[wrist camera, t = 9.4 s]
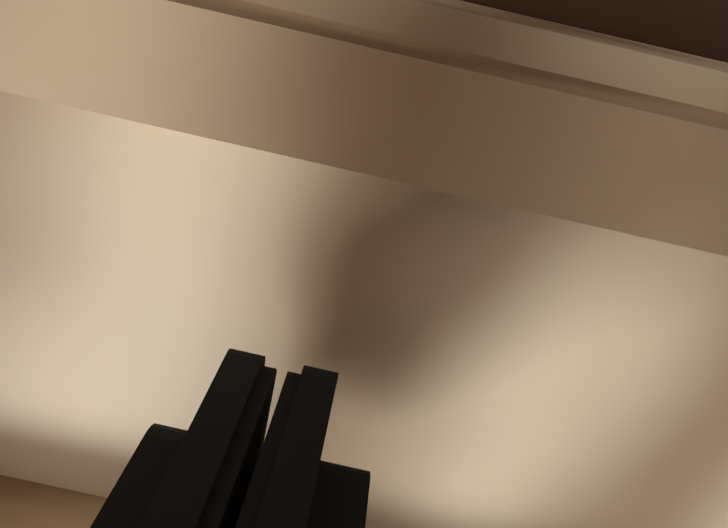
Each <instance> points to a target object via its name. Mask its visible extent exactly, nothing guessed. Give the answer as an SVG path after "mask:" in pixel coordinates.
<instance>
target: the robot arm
mask: <svg viewBox="0 0 728 528" xmlns="http://www.w3.org/2000/svg"><path fill="white" fill-rule="evenodd" d="M265 359H266V358H265V356H262V355H258V354H253V353H249V352H245V351H240V350H236V349H231V348H230V349H229V350H228V351H227V353H226V355H225V357H224V359H223V361H222V363H221V365H220V367H219V369H218V371H217V373H216V375H215V377H214V379H213V381H212V383H211V385H210V387H209V389H208V391H207V393H206V395H205V397H204V399H203V401H202V403H201V405H200V407H199V409H198V411H197V413H196V415H195V417H194V419H193V421H192V423H191V425H190V427H189V429H188V430H183V429H179V428H174V427H170V426H165V425H161V424H156V423H154V424H153V425H151V426H150V427H149V429H148V430H147V432H146V433H145V435H144V436H143V438H142V440H141V442H140V443H139V445H138V447H137V448H136V450H135V452H134V453H133V455H132V457H131V459H130V460H129V462H128V464H127V465H126V467H125V469H124V470H123V472H122V474H121V476H120V477H119V479H118V481H117V482H116V484H115V486H114V487H113V489H112V491H111V493H110V494H109V496H108V498H107V499H106V501H105V503H104V505H103V506H102V508H101V510H100V511H99V513H98V515H97V516H96V518H95V520H94V522H93V523H92V525H91V527H90V528H365V524H366V515H367V505H368V496H369V487H370V471H366V470H362V469H357V468H353V467H348V466H344V465H339V464H335V463H330V462H326V461H322V460H321V455H322V451H323V446H324V441H325V436H326V432H327V427H328V422H329V417H330V413H331V408H332V403H333V399H334V394H335V389H336V384H337V380H338V375H339V373H338V372H333V371H329V370H324V369H320V368H316V367H311V366H307V365H304V366H303V369H302V373H301V374H298V373H294V372H289V371H288V372H287V375H286V378H285V381H284V384H283V387H282V390H281V393H280V396H279V399H278V402H277V405H276V408H275V410H274V413H273V416H272V419H271V422H270V425H269V428H268V431H267V434H266V437H265V433H266V428H267V422H268V417H269V412H270V406H271V401H272V396H273V390H274V385H275V379H276V374H277V369H276V368H271V367H267V366H265ZM264 438H265V440H264Z"/></svg>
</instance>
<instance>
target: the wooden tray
mask: <svg viewBox="0 0 728 528" xmlns="http://www.w3.org/2000/svg"><path fill="white" fill-rule="evenodd" d="M230 348H231V349H236V350H240V351H245V352H249V353H253V354H258V355H262V356H265V358H266V359H265V366H267V367H271V368H276V369H277V374H276V379H275V385H274V390H273V396H272V401H271V406H270V412H269V417H268V422H267V428H266V433H265V437H266V434H267V431H268V428H269V425H270V422H271V419H272V416H273V413H274V410H275V408H276V405H277V402H278V399H279V396H280V393H281V390H282V387H283V384H284V381H285V378H286V375H287V372H288V371H289V372H294V373H298V374H301V373H302V369H303V366H304V365H307V366H311V367H316V368H320V369H324V370H329V371H333V372H338V373H339V375H338V380H337V384H336V389H335V394H334V399H333V403H332V408H331V413H330V417H329V422H328V427H327V432H326V436H325V441H324V446H323V451H322V455H321V460H322V461H326V462H330V463H335V464H339V465H344V466H348V467H353V468H357V469H362V470H366V471H370V487H369V496H368V505H367V515H366V524H365V528H728V63H726V62H722V61H718V60H713V59H709V58H705V57H701V56H696V55H692V54H688V53H684V52H679V51H675V50H671V49H666V48H662V47H658V46H654V45H649V44H645V43H641V42H637V41H632V40H628V39H624V38H620V37H615V36H611V35H607V34H602V33H598V32H594V31H590V30H585V29H581V28H577V27H573V26H568V25H564V24H560V23H555V22H551V21H547V20H543V19H538V18H534V17H530V16H526V15H521V14H517V13H513V12H509V11H504V10H500V9H496V8H491V7H487V6H483V5H479V4H474V3H470V2H466V1H462V0H0V528H90V527H91V525H92V523H93V522H94V520H95V518H96V516H97V515H98V513H99V511H100V510H101V508H102V506H103V505H104V503H105V501H106V499H107V498H108V496H109V494H110V493H111V491H112V489H113V487H114V486H115V484H116V482H117V481H118V479H119V477H120V476H121V474H122V472H123V470H124V469H125V467H126V465H127V464H128V462H129V460H130V459H131V457H132V455H133V453H134V452H135V450H136V448H137V447H138V445H139V443H140V442H141V440H142V438H143V436H144V435H145V433H146V432H147V430H148V429H149V427H150V426H151V425H153V424H154V423H156V424H161V425H165V426H170V427H174V428H179V429H183V430H188V429H189V427H190V425H191V423H192V421H193V419H194V417H195V415H196V413H197V411H198V409H199V407H200V405H201V403H202V401H203V399H204V397H205V395H206V393H207V391H208V389H209V387H210V385H211V383H212V381H213V379H214V377H215V375H216V373H217V371H218V369H219V367H220V365H221V363H222V361H223V359H224V357H225V355H226V353H227V351H228V350H229V349H230ZM264 440H265V438H264Z"/></svg>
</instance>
